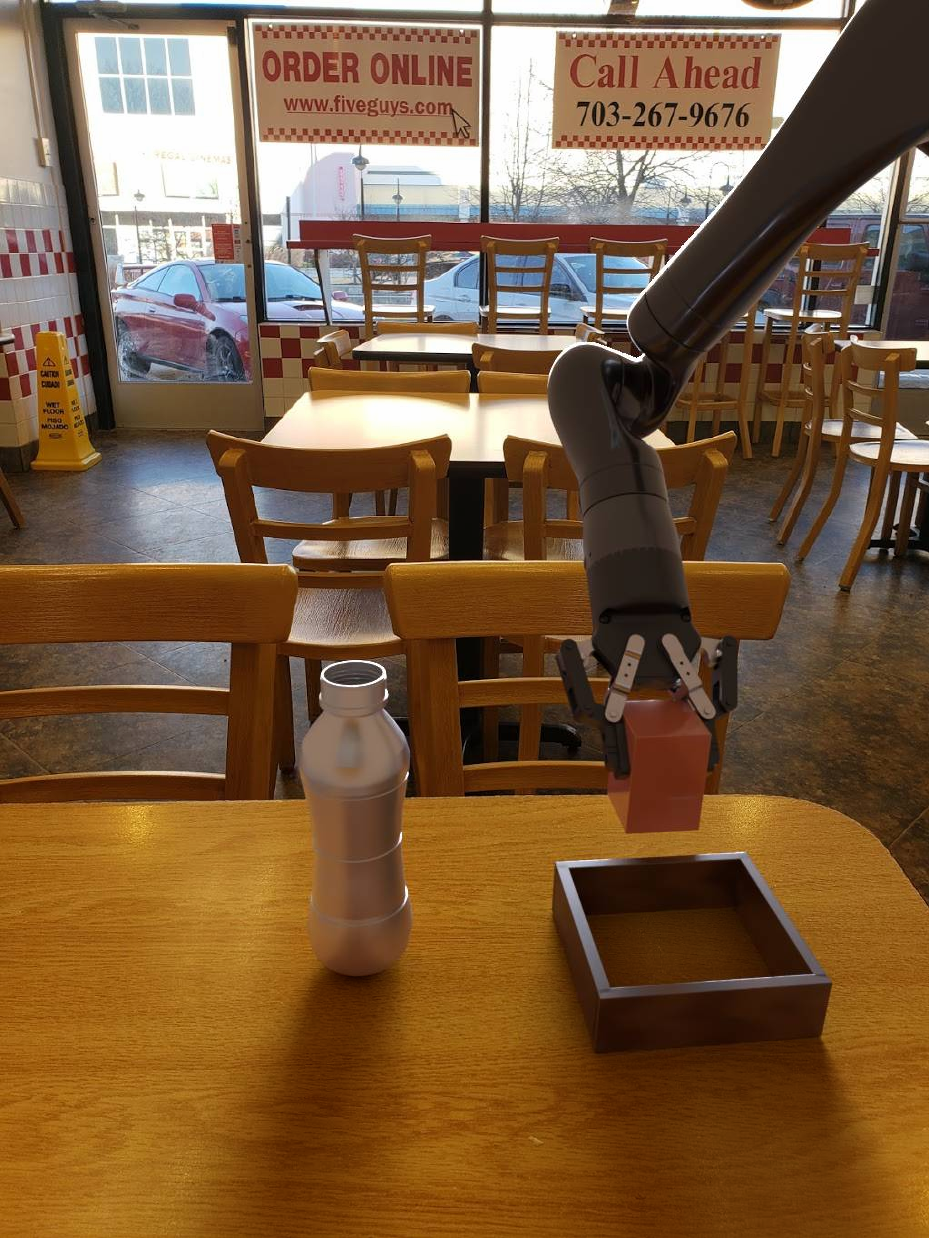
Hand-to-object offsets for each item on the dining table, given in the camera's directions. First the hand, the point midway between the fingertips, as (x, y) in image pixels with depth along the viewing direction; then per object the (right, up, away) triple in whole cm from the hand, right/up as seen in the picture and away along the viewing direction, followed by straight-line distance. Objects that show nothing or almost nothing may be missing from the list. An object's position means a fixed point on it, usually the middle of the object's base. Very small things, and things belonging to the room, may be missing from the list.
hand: (664, 775), depth 68 cm
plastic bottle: (-21, -11, -7) cm, 25 cm away
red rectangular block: (0, -3, +3) cm, 5 cm away
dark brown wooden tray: (-1, -11, -7) cm, 13 cm away
